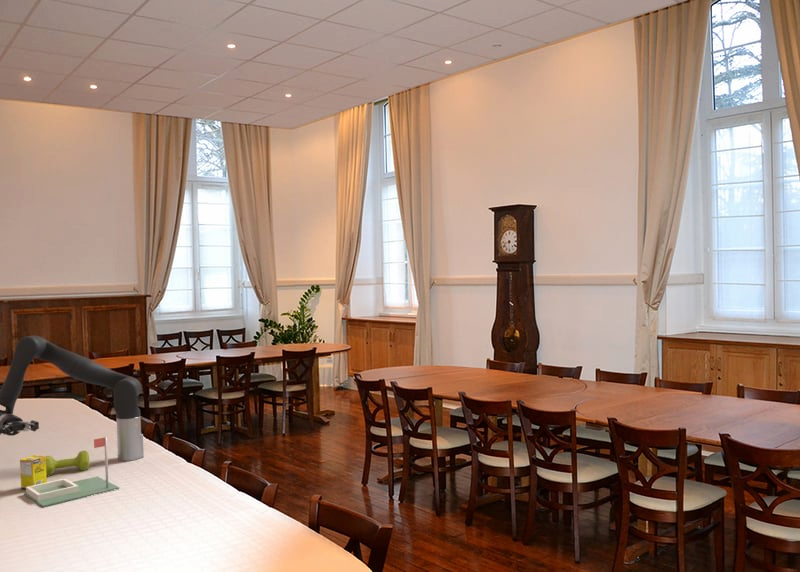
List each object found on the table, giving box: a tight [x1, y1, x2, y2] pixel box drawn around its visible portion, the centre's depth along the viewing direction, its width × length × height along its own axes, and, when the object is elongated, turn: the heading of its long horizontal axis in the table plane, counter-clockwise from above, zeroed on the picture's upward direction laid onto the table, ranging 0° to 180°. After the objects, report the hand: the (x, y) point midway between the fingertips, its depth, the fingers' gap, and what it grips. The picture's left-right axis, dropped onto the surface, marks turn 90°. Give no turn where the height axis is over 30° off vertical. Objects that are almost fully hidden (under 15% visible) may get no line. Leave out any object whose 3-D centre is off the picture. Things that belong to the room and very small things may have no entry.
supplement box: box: [19, 454, 48, 491], centre depth 244 cm, size 6×6×11 cm
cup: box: [23, 436, 120, 508], centre depth 238 cm, size 25×20×19 cm
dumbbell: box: [45, 450, 90, 477], centre depth 263 cm, size 16×8×7 cm, turn 120°
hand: (22, 430), depth 251 cm, fingers open, 8 cm apart
